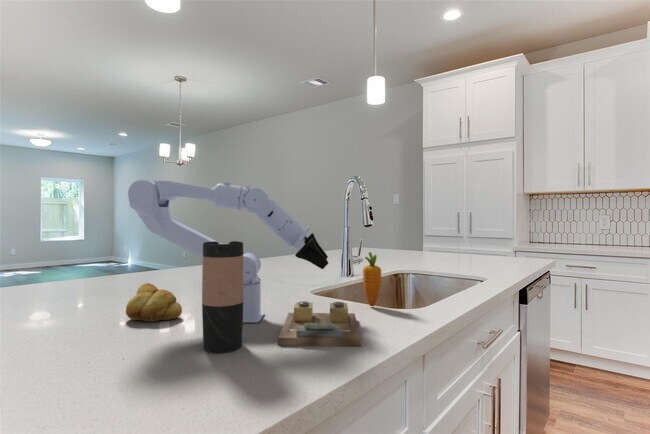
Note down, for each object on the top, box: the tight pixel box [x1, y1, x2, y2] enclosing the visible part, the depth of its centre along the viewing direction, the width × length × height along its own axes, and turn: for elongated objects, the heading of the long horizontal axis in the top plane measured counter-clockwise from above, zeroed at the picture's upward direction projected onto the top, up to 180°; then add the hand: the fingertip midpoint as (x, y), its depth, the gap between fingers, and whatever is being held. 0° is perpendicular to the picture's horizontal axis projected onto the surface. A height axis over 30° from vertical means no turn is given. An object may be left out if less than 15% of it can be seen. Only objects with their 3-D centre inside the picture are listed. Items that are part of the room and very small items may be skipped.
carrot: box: [362, 251, 382, 307], centre depth 102 cm, size 5×5×15 cm
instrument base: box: [277, 312, 362, 347], centre depth 81 cm, size 16×18×4 cm
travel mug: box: [201, 240, 244, 354], centre depth 71 cm, size 8×8×20 cm
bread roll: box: [125, 282, 183, 322], centre depth 90 cm, size 13×10×8 cm
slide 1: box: [293, 301, 314, 322], centre depth 85 cm, size 4×5×4 cm
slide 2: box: [329, 301, 349, 322], centre depth 85 cm, size 4×5×4 cm
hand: (325, 262), depth 92 cm, fingers open, 7 cm apart
